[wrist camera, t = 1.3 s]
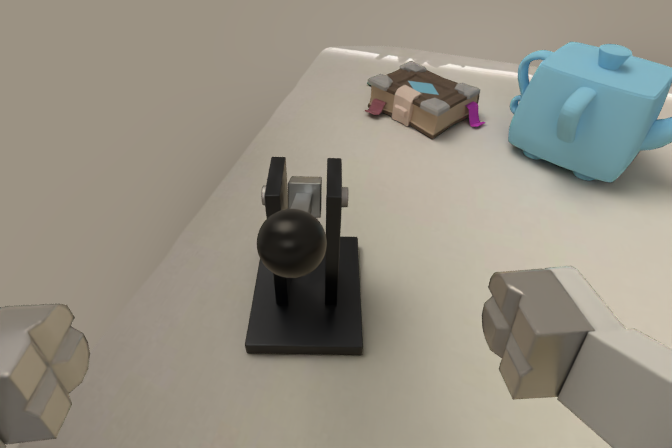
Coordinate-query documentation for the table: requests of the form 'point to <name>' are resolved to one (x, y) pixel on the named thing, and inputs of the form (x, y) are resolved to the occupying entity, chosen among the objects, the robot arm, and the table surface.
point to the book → (423, 99)
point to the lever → (295, 231)
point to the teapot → (590, 109)
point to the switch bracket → (309, 285)
